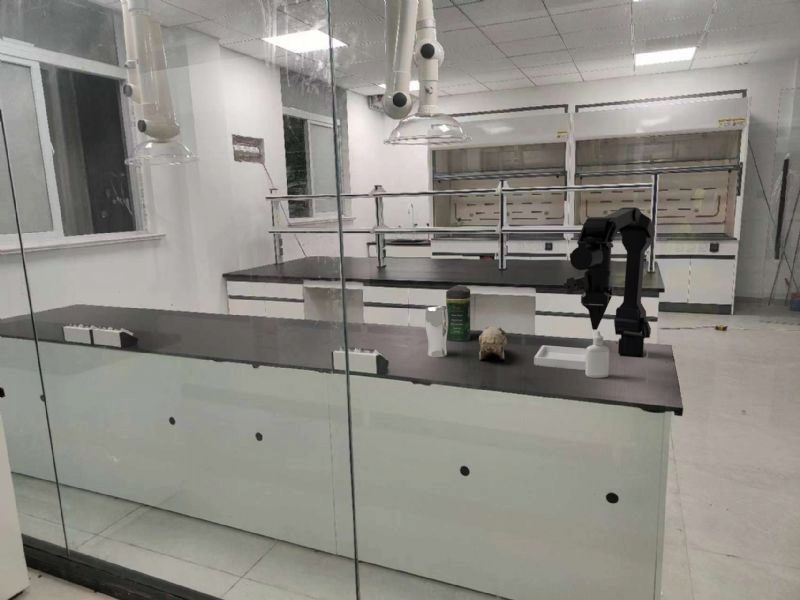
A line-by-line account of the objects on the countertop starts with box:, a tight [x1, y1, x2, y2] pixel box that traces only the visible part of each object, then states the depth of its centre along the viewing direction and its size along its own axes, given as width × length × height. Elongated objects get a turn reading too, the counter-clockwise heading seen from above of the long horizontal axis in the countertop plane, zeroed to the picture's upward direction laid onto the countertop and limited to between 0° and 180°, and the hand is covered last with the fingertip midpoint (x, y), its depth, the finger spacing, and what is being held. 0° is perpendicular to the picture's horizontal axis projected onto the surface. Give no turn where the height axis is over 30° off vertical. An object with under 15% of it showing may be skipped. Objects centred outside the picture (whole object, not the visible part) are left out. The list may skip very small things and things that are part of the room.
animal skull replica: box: [478, 326, 508, 361], centre depth 160 cm, size 8×17×10 cm, turn 163°
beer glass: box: [424, 305, 448, 358], centre depth 163 cm, size 7×7×15 cm
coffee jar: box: [445, 285, 471, 343], centre depth 182 cm, size 10×8×19 cm
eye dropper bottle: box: [584, 330, 610, 379], centre depth 141 cm, size 4×6×12 cm
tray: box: [533, 344, 587, 371], centre depth 156 cm, size 14×14×2 cm
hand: (596, 325), depth 141 cm, fingers open, 9 cm apart
